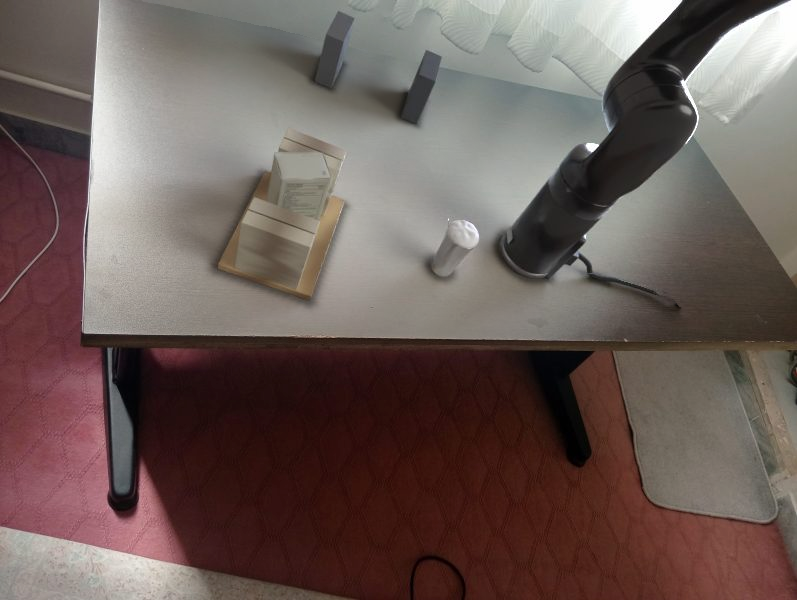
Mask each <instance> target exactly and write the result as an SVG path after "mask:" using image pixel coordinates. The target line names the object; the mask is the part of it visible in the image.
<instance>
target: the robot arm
mask: <svg viewBox="0 0 797 600" xmlns="http://www.w3.org/2000/svg"><path fill="white" fill-rule="evenodd" d="M795 1H796V0H681V1H679V3H678V4H677V5H676V7H674V9H673V10H672V11H671V12H670V14H669V15H667V17H666V18H664V20H663V21H662V22H661V23H660V24H659V25H658V26H657V27H656V29H654V31H652V33H651V34H650V35H649V36H648V37H647V38H646V39H645V40H644V41H643V42H642V43H641V44H640V45H639V47H637V49H636V50H635V51H633V53H632V54H630V56H629V57H628V58H627V59H626V60H625V61H624V62H623V63H622V64H621V65H620V67H619V68H618V69H617V71H615V73H614V74H613V75H612V76H611V78H610V80H609V81H608V82H607V84H606V86H605V88H604V91H603V93H602V97H601V110H602V114H603V117H604V121H605V123H606V128H607V129H608V134H607V135H606V136H605V138H604V139H603V140H602V141H601V142H600V143H599V144H597V143H596V144H595V143H591V142H582V143H578V144H577V145H574V146H573V147H572V148H571V149H570V150H569V152H568V153H567V154H566V155H565V156H564V158H563V159H562V161H561V162H560V163H559V164H558V166H557V167H556V168H555V169H554V171H553V172H552V173H551V174H550V176H549V177H548V178H547V180H546V181H545V182H544V184H543V185H542V186H541V188H540V189H539V190H538V191H537V193H536V194H535V196H534V197H533V198H532V199H531V201H530V202H529V203H528V204H527V206H526V207H525V208H524V210H522V212H521V213H520V214H519V216H518V217H517V218H516V220H515V221H514V222H513V223H512V225H510V226H509V228H508V229H507V230H506V232H505V233H504V234H503V236H502V237H501V238H500V242H499V251H500V254H501V256H502V259H503V260H504V262H505V263H506V264H507V265H508V266H509V267H510V268H511V269H512V270H513V271H514V272H516V273H517V274H519V275H520V276H523V277H525V278H529V279H536V280H537V279H538V280H539V279H542V278H548V279H552V278H553V277H554V276H555V274H557V272H558V271H559V270H560V269H561V268H563V266H564V265H566V266H569V267H571V266H572V265H573V263H575V262H576V261H577V260H579V261H581V262H582V263H583V264H584V265H585V267H586V273H587V275H588V276H589V277H591V278H593V279H594V280H598V281H602V282H609V283H616V284H620V285H623V286H627V287H629V288H630V287H631V288H633V289H637V290H641V291H643V292H646V293H649V294H652V295H655V296H659V295H658V294H657V293H656V292H655V291H653V290H650V289H647V288H644V287H641V286H638V285H635V284H631V283H628V282H624V281H621V280H619V279H623V280H625V279H624V278H621V277H617V276H609V275H602V274H599V273H597V272H594V270H593V264H592V262H591V261H590V260H589V259H588V258H587V257H586V255H583V254H582V253H581V252H580V251H579V250H580V249H581V248H582V247H583V246H584V245H585V244H586V242H587V234H588V232H590V231H591V229H592V228H594V226H595V225H596V224H597V223H598V222H599V221H600V220H601V219H602V218H603V217H604V216H605V215H606V214H607V213H608V212H609V211H610V210H611V209H612V207H614V205H616V203H617V202H619V200H620V199H621V198H623V197H624V196H626V195H628V194H631V193H633V192H634V191H636V190H637V189H639V188H640V187H641V186H643V185H644V184H645V183H646V182H648V180H649V179H651V178H652V177H653V176H654V175H655V174H656V173H657V172H658V171H659V170H660V169H661V168H662V167H664V166H665V165H666V164H667V163H669V161H671V159H672V158H673V157H675V156H676V155H677V154H678V153H679V151H681V150H682V149H683V147H684V146H686V144H687V143H688V141H689V140H690V139H691V138H692V136H693V134H694V133H695V131H696V129H697V126H698V122H699V114H698V110H697V107H696V104H695V102H694V100H693V98H692V96H691V94H690V92H689V90H688V88H687V85H686V83H687V81H688V79H690V77H691V76H692V74H694V72H695V70H697V68H698V67H699V66H700V65H701V64H702V63H703V61H704V60H706V58H707V57H708V56H709V55H710V54H711V53H712V52H713V51H714V50H715V49H716V47H718V46H719V45H720V44H721V43H722V42H723V41H725V39H726V40H727V38H728V37H730V36H731V35H733V34H734V33H736V32H737V31H738V30H740V29H742V28H744V27H746V26H748V25H749V24H751V23H754V22H755V21H758V20H759V19H761V18H764V17H766V16H768V15H770V14H772V13H774V12H776V11H779V10H780V9H782V8H785V7H786V6H788V5H789V4H792V3H793V2H795ZM593 272H594V274H589V273H593ZM617 278H619V279H617ZM626 280H627V279H626ZM627 281H630V282H632V281H631V280H627ZM633 282H634V281H633ZM634 283H637V284H639V283H638V282H636V281H635V282H634ZM645 286H646V287H649V288H651V286H648V285H645ZM654 292H655V293H654ZM656 294H657V295H656Z"/></svg>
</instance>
